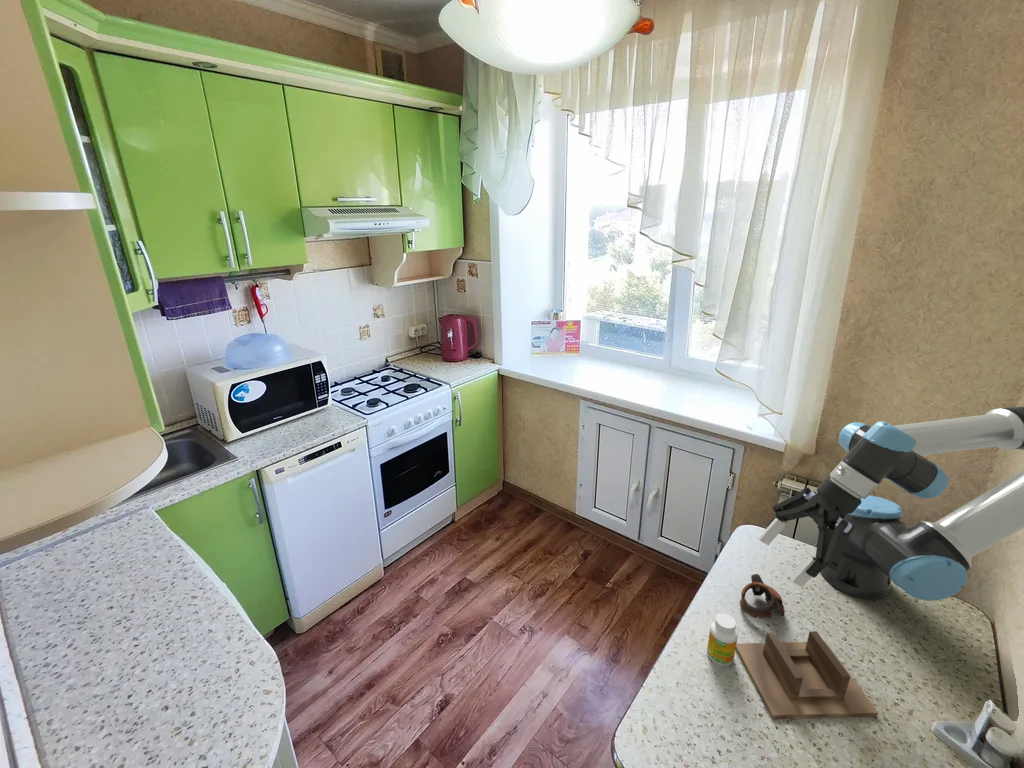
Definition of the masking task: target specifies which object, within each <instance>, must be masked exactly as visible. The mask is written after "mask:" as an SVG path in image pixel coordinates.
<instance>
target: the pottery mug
mask: <svg viewBox="0 0 1024 768" xmlns="http://www.w3.org/2000/svg"><path fill="white" fill-rule="evenodd" d="M750 578H751V582H750V583H747V584H746V585H745V586H744V587H743V589H741V596H740V600H739V606H740V609H741V611H742V612H744V613H745V614H747V615H749V616H750V617H753V618H755V619H756V618H759V619H764V618H766V619H771V620H774V615H773V611H774V612H778V611H779V612H781V614H782V615H781V616H783V617H785V611H786V609H785V606H784V604H783V598H782V597H781V595H780V593H778V591H777V590H775V589H774V588H773V587H771V586H769V585H767V584H766V583H764V581H763V579H762V578H761V575H760V574H758V573H754V574H751V577H750ZM750 589H751V590H752V594H753V595H754V596H756V597H757V596H758V597H761V596H762V595H764V597H765V601H767V602H769V604H768V605H767V606H765V607H762V608H758V607H755V606H752V605H751V604H750V603H748V601H747V600H746V598H745V597H746V594H747V592H748V591H749V590H750Z"/></svg>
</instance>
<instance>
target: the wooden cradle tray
mask: <svg viewBox="0 0 1024 768" xmlns="http://www.w3.org/2000/svg"><path fill="white" fill-rule="evenodd" d="M735 652H736V654H737V655H738V657H739V659H740V660H741V664H742V665H743V666H744V669H745V670H746V672H747V674H748V676H749V678H750V679H751V681H752V684H753V685H754V687H755V690H756V691H757V693H758V695H759V696H760V698H761V699H760V700H761V701H762V702H763V704H764V706H765V709H766V710H767V713H768V714H769V716H770V718H771V719H772V720H789V719H792V720H793V719H822V718H823V719H826V718H828V719H829V718H830V719H831V718H834V719H835V718H866V717H869V718H870V717H878V716H879V711H878V710H877V708H876V707H875V706H874V704H872V702H871V700H870V699H869V698H868V697H867V695H866V694H865V693H864V691H863V690H862V688H861V687H860V686H859V685H858V683H857V682H856V681H855V679H854V678H853V676H852V675H851V674H850V673H849V671H848V670H847V669H846V667H845V666H844V664H843V663H842V662H841V660H840V659H839V657H837V655H836V654H835V652H834V651H833V650H832V648H831V647H830V646H829V644H828V643H827V641H825V640H824V639H823V638H822V636H821V635H820V634H819V632H818V631H815V630H814V631H809V633H808V638H807V641H789V642H787V641H786V642H785V641H784V642H782V641H780V639H779V638H778V635H776V632H773V631H772V632H766V636H765V640H764V642H749V643H745V642H744V643H736V649H735Z"/></svg>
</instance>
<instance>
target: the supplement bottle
mask: <svg viewBox="0 0 1024 768" xmlns="http://www.w3.org/2000/svg"><path fill="white" fill-rule="evenodd" d="M736 627H737V623H736V620H735V619H734V617H732V616H731V615H729V614H727V613H718V614H717V615H716V616H715V620H714V621H713V622H712V623H711V625H710V628H709V635H708V642H707V647H706V654H707V656H708V657H709V659H710V660H712V661H711V662H714V663H715V664H717V665H720V666H729V665H731V664H733V662H734V660H735V654H736V644H738V637H739V636H738V635H739V633H738V631H737V629H736Z"/></svg>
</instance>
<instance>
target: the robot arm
mask: <svg viewBox="0 0 1024 768" xmlns="http://www.w3.org/2000/svg"><path fill="white" fill-rule="evenodd" d="M838 442H839V445H840V447H842V448H843V450H845V451H846V452H847V454H846V455H845V456H844V457H843V459H842V460H841V461H840V462H839V463H838V464H837V465H836V466H835V468H834V469H832V471H831V472H830V473H829V476H830V477H827V478H826V477H825V478H824V480H823V481H822V482H821V483H819V485H818V486H817V488H816V491H815V490H813V489H811V488H810V487H808V486H806V487H804V488H803V489H802V490H800V491H799V492H798V493H797V494H795V495H793V496H790V497H789V498H787V499H785V500H783V501H781V502H779V503H777V504H775V505H774V506H773V507H772V511H774V512H775V513H774V517H773V518H772V519H771V520H770V521H769V523H768V524H767V527H766V528H765V529H764V531H763V532H762V533H761V534H760V536H758V538H757V540H758V541H759V542H761V543H763V544H765V545H767V546H769V545H770V544H771V543H773V541H774V540H775V539H776V538H777V536H778V535H779V534H780V533H781V532H782V531H783V530H784V529H785V528H786V526H787V523H788V522H789V521H793V520H798V519H802V518H806V517H809V518H811V519H812V520H813V522H814V523H815V524H816V525H817V529H818V535H817V536H818V537H817V543H816V550H815V551H816V552H815V556H813V557H812V556H810V557H809V558H808V560H807V561H806V562H805V563H804V564H803V565H802V566H801V567H800V568H799V569H798V570H797V571H796V573H795V574H794V575H792V577H791V578H790V581H791V582H792V583H793V584H795V585H797V586H799V587H801V588H803V587H805V585H806V584H807V583H808V582H809V581H810V580H812V579H811V578H816V577H817V576H818V575H819V574H820V575H821V576H822V578H823V579H824V580H825V581H826V582H827V583H829V584H830V585H831V586H832V587H834V588H836V589H837V590H839V591H841V592H842V593H845V594H847V595H850V596H853V597H856V598H860V599H864V600H880V599H883V598H885V597H887V596H888V595H889V594H890V593H889V592H890V589H891V586H892V583H893V584H894V585H895V586H897V587H898V588H900V589H901V590H902V591H904V592H905V593H906V594H907V595H908V596H911V597H912V598H914V599H916V600H921V601H922V600H923V601H928V602H930V601H931V602H933V601H934V602H935V601H941V600H944V599H948V598H950V597H953V596H954V595H956V594H958V593H959V592H960V591H961V590H962V589H963V586H965V585H967V582H968V579H969V578H968V577H969V575H968V573H967V571H969V570H970V569H972V566H973V565H972V559H973V557H975V556H977V555H979V554H980V553H982V552H984V551H985V550H987V549H989V548H991V547H993V546H994V545H997V544H999V543H1000V542H1001V541H1003V540H1005V539H1007V538H1008V537H1010V536H1012V535H1014V534H1016V533H1017V532H1019V531H1021V530H1023V529H1024V469H1022V470H1021V471H1020V472H1017V474H1015V475H1013V476H1011V477H1009V478H1008V479H1006V480H1004V481H1003V482H1000V483H999V484H998V485H996V486H994V487H992V488H991V489H989V490H988V491H986V492H984V493H982V494H980V495H979V496H978V497H975V498H974V499H972V500H971V501H969V502H967V503H965V504H963V505H962V506H960V507H958V508H956V509H955V510H953V511H951V512H950V513H948V514H946V515H945V516H943V517H942V518H940V519H938V520H937V521H934V522H933V521H927V520H921V521H919V522H917V523H915V524H913V525H912V526H909V525H908V524H906V523H905V522H904V521H903V520H902V518H903V517H904V514H903V507H901V506H900V505H898V504H897V503H896V502H893V501H891V500H889V499H886V498H884V497H880V496H875V495H870V494H872V492H873V491H874V490H875V489H876V488H877V487H878V486H879V485H880V484H881V483H882V482H883V481H884V479H886V480H888V481H890V482H891V483H893V484H894V485H897V486H898V487H899V488H901V489H902V490H904V491H905V492H907V493H908V494H910V495H913V496H915V497H918V498H921V499H933V498H936V497H938V496H940V495H942V493H943V492H945V490H946V489H947V487H948V485H949V478H948V473H946V472H945V470H943V469H942V468H941V467H940V466H939V465H938V464H937V463H934V462H932V461H930V460H929V459H928V458H927V457H926V458H925V457H924V456H928V455H937V454H945V453H954V452H963V451H970V450H971V451H972V450H979V449H989V448H998V449H1000V450H1005V451H1010V450H1021V451H1024V406H1009V407H1001V408H994V409H991V410H989V411H987V412H986V413H985V414H981V415H978V414H977V415H972V416H964V417H955V418H949V419H948V418H947V419H939V420H930V421H923V422H921V421H919V422H913V423H906V424H905V423H904V424H897V425H893V424H890V423H888V422H886V421H884V420H883V421H882V420H880V421H877V422H875V424H873V426H870V425H869V424H865V423H863V422H858V421H855V422H851V423H848V424H846V425H845V426H844V427H843V428H842V430H840V432H839V435H838Z"/></svg>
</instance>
